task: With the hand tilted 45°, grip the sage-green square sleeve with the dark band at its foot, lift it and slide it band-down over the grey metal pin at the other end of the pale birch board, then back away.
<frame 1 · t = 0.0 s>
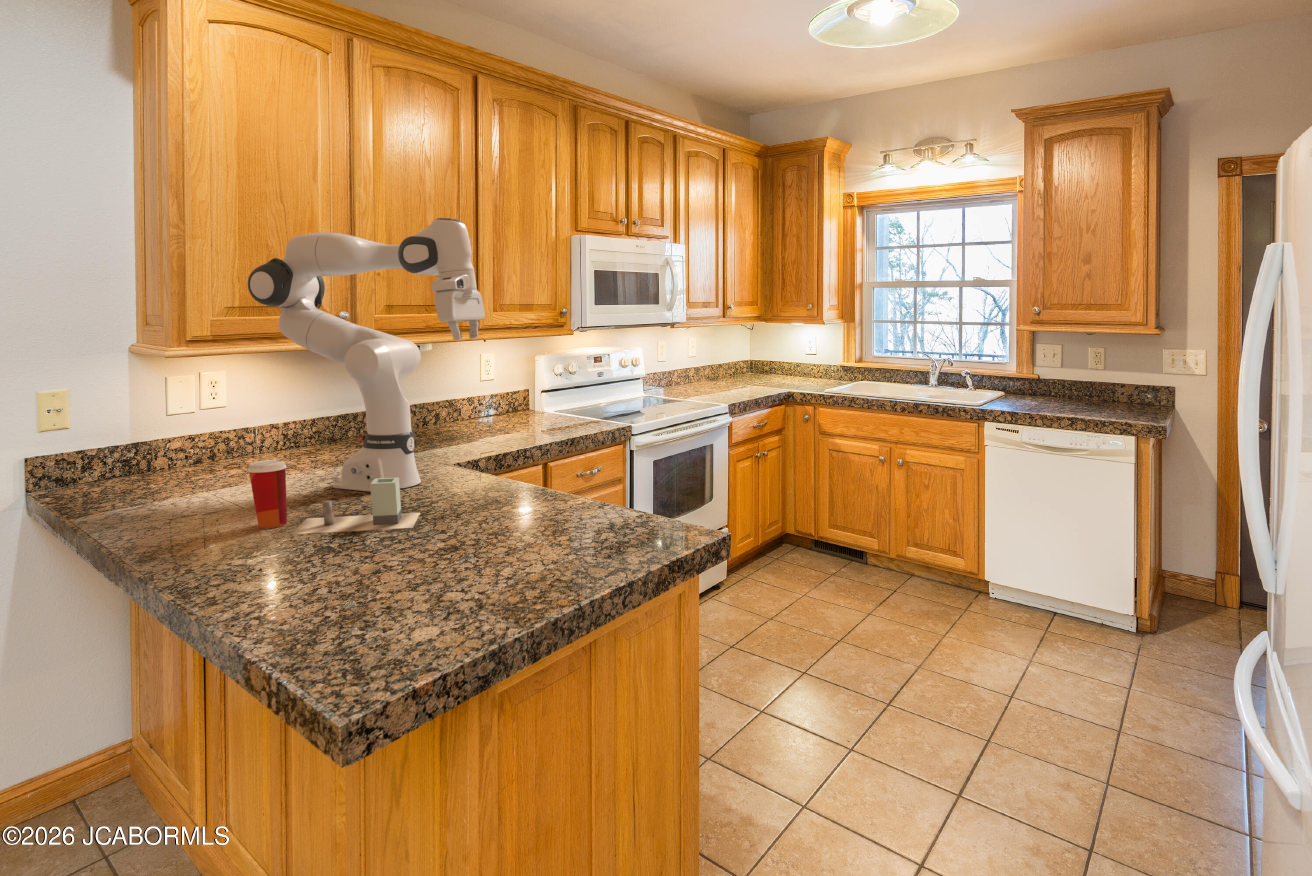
hand: (466, 339, 193), 39 cm above the worktop, tool pointing down, fingers open, 8 cm apart
sleeve: (387, 521, 164), point 1 cm above the worktop, touching pin board
pin board: (359, 529, 163), on the worktop
paper cup: (272, 525, 167), on the worktop
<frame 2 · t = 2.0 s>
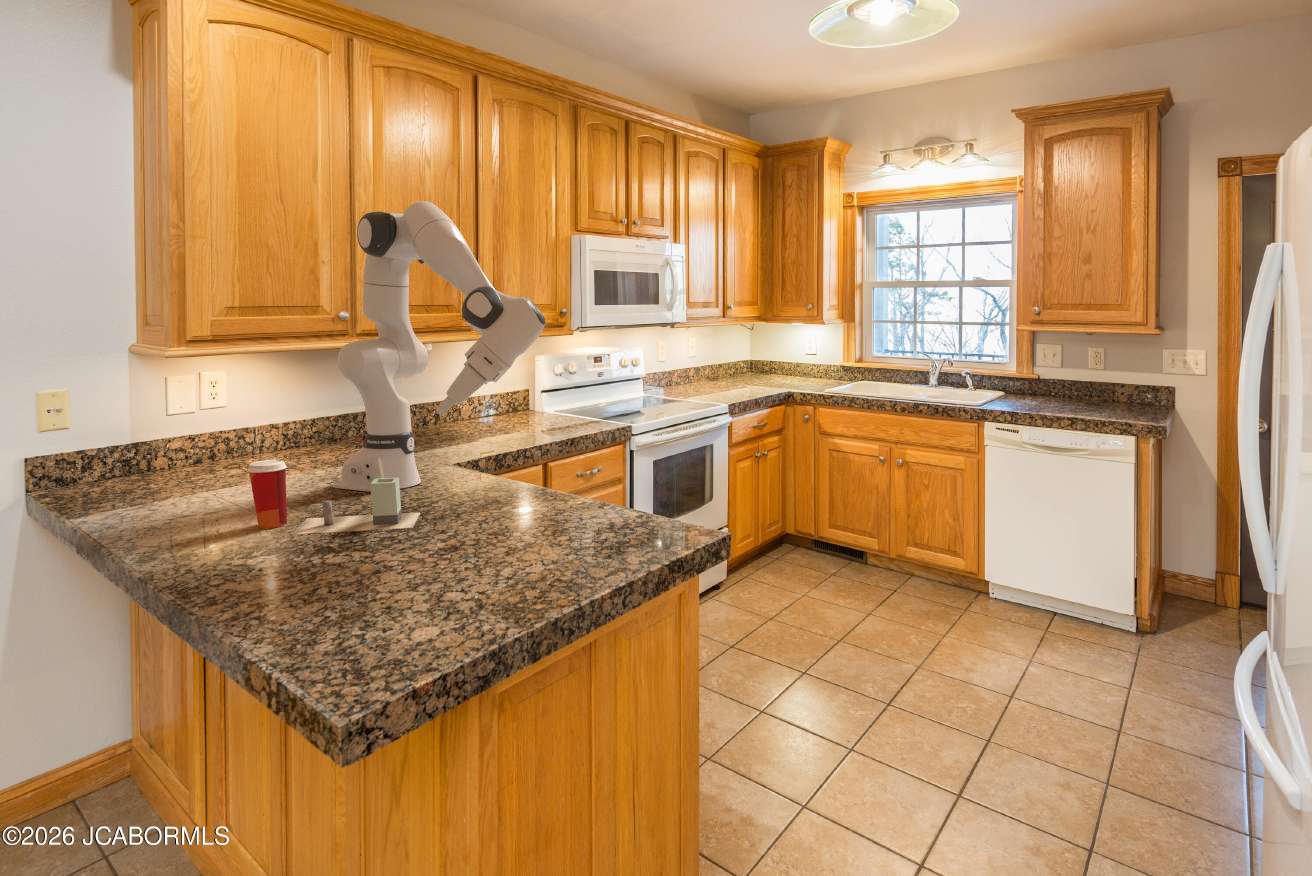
hand: (441, 410, 162), 25 cm above the worktop, tool tilted 45°, fingers open, 8 cm apart
nothing on the worktop moved.
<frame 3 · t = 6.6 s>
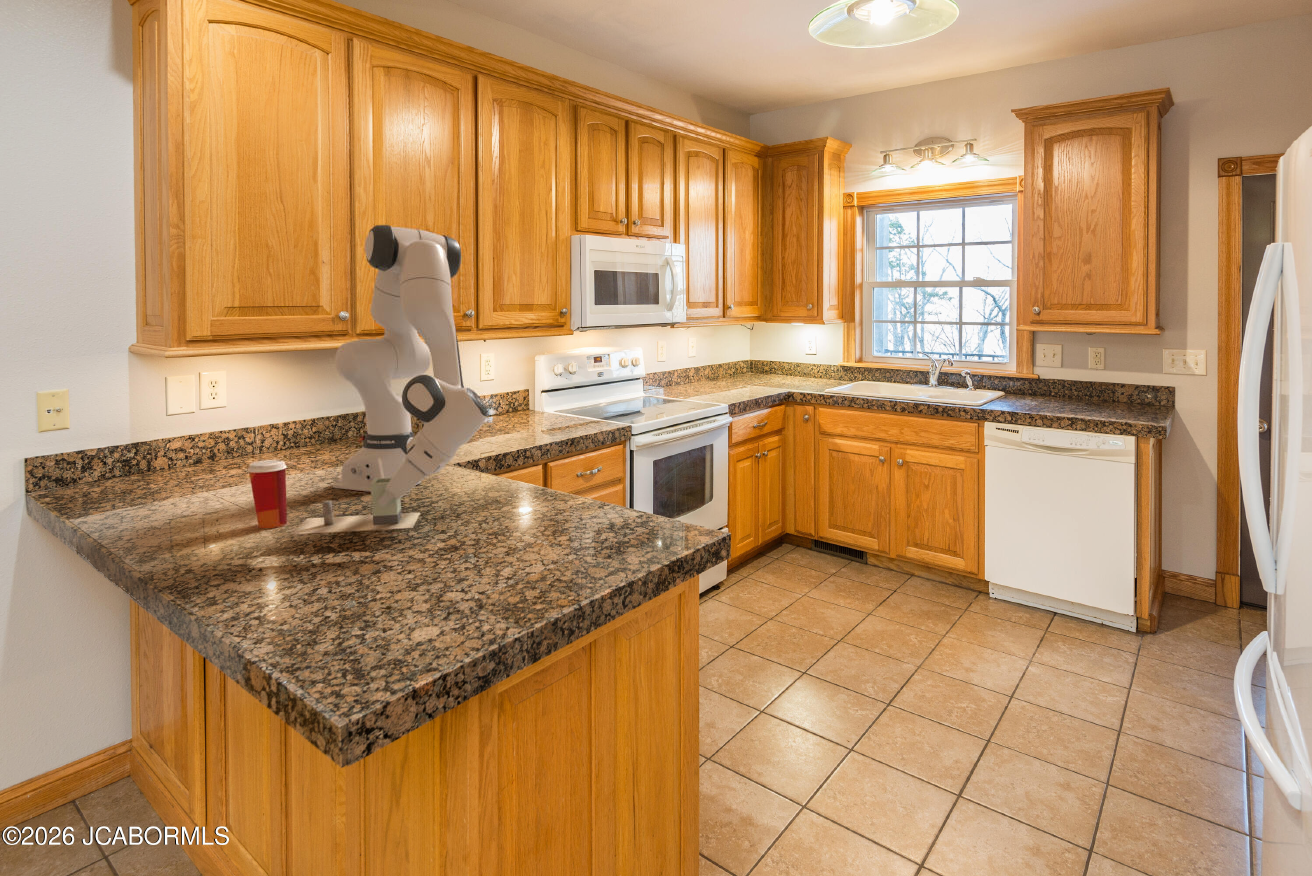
hand: (383, 499, 163), 6 cm above the worktop, tool tilted 45°, fingers closed on sleeve, 5 cm apart
sleeve: (387, 521, 164), point 2 cm above the worktop, touching gripper, pin board
everything else where it was.
when the fingers open (8 cm above the worktop, at t = 11.4 s): sleeve drops 2 cm, resting on pin board.
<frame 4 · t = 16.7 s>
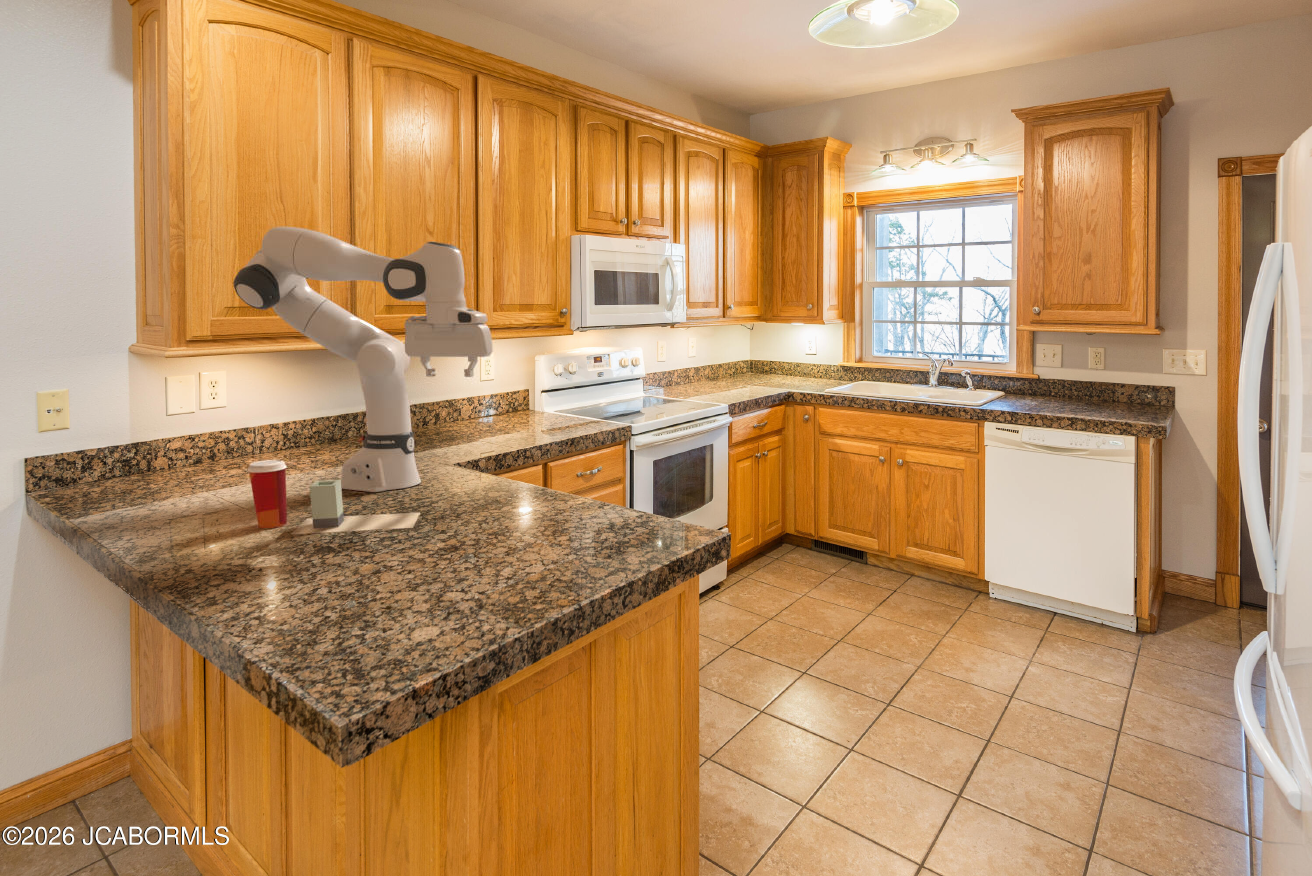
hand: (449, 376, 174), 31 cm above the worktop, tool pointing down, fingers open, 8 cm apart
sleeve: (328, 524, 162), point 1 cm above the worktop, touching pin board
everything else where it was.
at the end: sleeve 0.0 cm from the target spot on the pin board, point 1.5 cm above the pin board's base; sleeve tilted 0°; the gripper is holding nothing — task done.
